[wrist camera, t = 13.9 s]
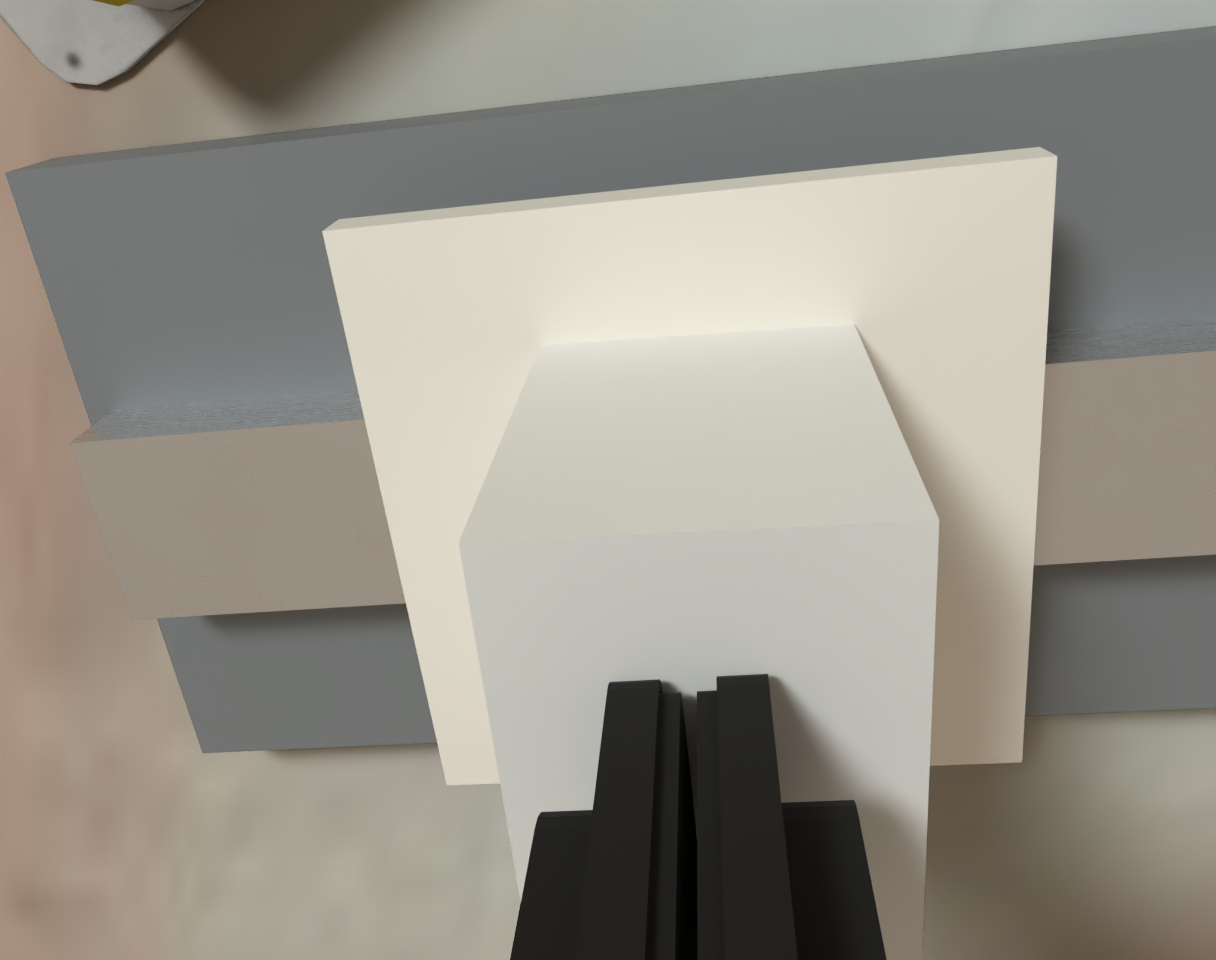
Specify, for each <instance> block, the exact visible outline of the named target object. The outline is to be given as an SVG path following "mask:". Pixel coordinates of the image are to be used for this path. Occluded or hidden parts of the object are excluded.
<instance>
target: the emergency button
mask: <svg viewBox="0 0 1216 960" xmlns="http://www.w3.org/2000/svg"><path fill="white" fill-rule="evenodd" d="M204 1H205V0H0V17H1V18H2V20H3V21H4V22H5V23H6V24H7V25H8V27H9V28H10V29H11V30H12V31H13V32H14V34H15V35H16V36H17V37H18V38H19V39H20V41H21V42H22V43H23V44H24V45H25V46H26V48H27V49H28V50H29V51H30V52H31V53H32V55H33V56H34V57H35V58H36V59H37V60H38V62H39V63H40V64H42V65H43V66H44V67H46V68H47V69H49V70H50V71H51V72H53V73H54V74H56V75H57V76H59V77H60V78H61V79H63V80H64V81H66V82H71V83H81V84H91V85H101V84H103V83H105V82H107V81H109V80H111V79H113V78H115V77H117V76H119V75H121V74H123V73H125V72H127V71H129V70H130V69H131V68H132V67H133V66H134V65H135V64H136V63H138V62H139V61H140V60H141V59H142V58H143V57H144V56H145V55H146V54H147V53H148V52H150V51H151V50H152V49H153V48H154V47H155V46H156V45H157V44H158V43H159V42H160V41H162V40H163V39H164V38H165V37H166V36H167V35H168V34H169V33H170V32H171V31H173V30H174V29H175V28H176V27H177V26H178V25H179V24H180V23H181V22H182V21H183V20H185V19H186V18H187V17H188V16H189V15H190V14H191V13H192V12H193V11H194V10H195V9H197V8H198V7H199V6H200V5H201V4H202V3H203V2H204Z"/></svg>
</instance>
